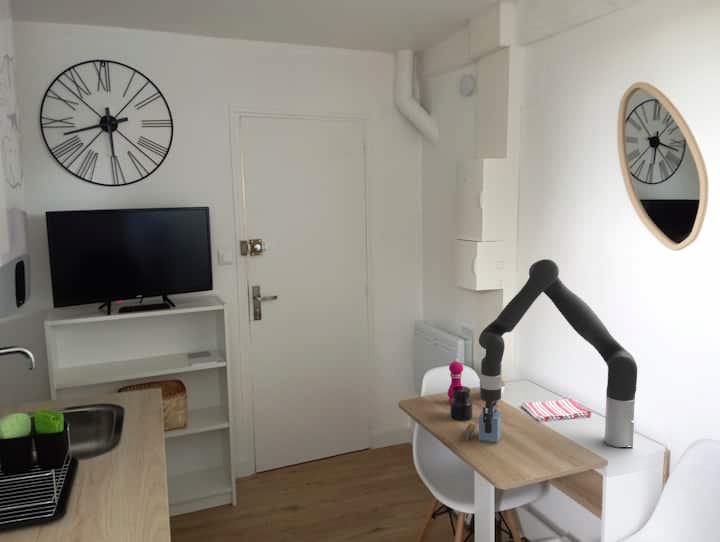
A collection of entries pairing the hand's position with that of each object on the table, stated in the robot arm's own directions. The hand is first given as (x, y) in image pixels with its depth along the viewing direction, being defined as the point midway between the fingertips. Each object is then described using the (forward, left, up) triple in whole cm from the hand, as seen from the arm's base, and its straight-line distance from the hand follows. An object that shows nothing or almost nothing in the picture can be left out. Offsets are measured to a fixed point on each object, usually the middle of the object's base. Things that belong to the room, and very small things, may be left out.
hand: (490, 428), depth 207 cm
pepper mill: (+21, -30, -4) cm, 37 cm away
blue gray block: (0, 0, -3) cm, 3 cm away
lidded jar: (+8, -42, -4) cm, 43 cm away
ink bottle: (+15, -16, -4) cm, 22 cm away
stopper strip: (+8, 0, -4) cm, 9 cm away
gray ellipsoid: (0, 0, -4) cm, 4 cm away
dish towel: (-19, -36, -5) cm, 41 cm away
